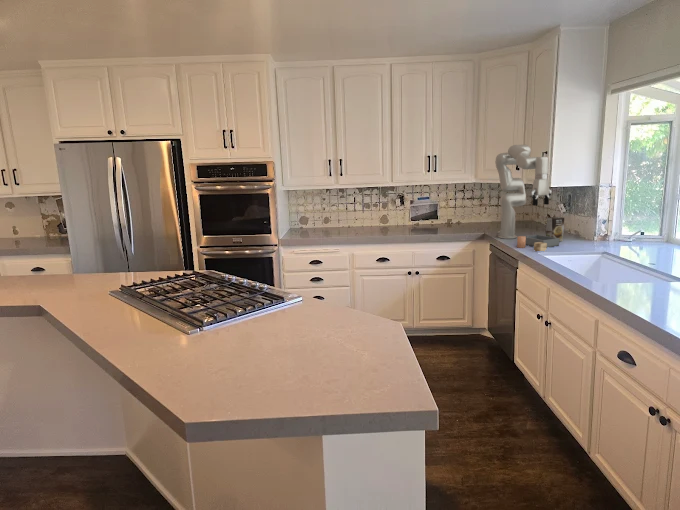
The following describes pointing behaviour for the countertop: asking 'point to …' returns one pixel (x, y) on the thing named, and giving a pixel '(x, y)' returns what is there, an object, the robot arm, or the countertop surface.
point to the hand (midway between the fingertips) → (540, 204)
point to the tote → (542, 240)
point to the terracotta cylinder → (521, 241)
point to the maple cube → (540, 246)
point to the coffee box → (555, 227)
